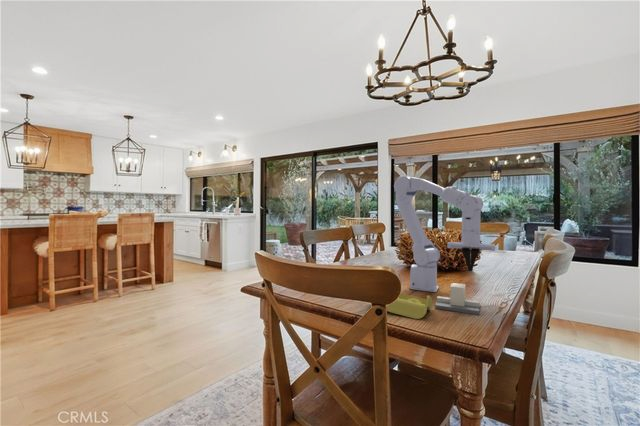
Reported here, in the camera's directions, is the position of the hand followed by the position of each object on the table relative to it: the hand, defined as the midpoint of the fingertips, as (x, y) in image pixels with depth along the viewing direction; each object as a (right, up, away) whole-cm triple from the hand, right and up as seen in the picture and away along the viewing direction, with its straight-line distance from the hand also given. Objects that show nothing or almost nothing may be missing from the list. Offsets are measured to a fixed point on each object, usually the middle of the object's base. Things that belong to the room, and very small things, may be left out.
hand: (470, 270), depth 106 cm
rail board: (-8, -10, -9) cm, 16 cm away
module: (-8, -9, -9) cm, 15 cm away
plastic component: (-27, -10, -11) cm, 31 cm away
